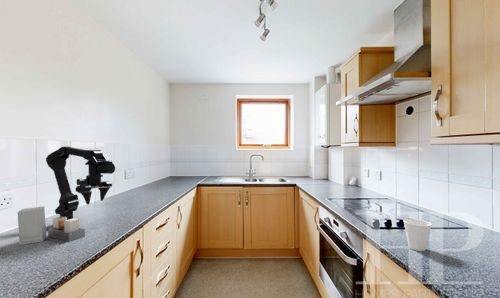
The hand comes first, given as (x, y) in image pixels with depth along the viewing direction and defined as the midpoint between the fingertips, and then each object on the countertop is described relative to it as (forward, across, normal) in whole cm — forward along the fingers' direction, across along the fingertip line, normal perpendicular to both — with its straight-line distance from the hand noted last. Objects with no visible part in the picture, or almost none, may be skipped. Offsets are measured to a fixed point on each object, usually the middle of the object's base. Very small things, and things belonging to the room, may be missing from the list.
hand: (95, 202), depth 133 cm
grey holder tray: (+12, +16, -1) cm, 21 cm away
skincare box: (+13, +24, -10) cm, 29 cm away
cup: (+13, 0, +156) cm, 156 cm away
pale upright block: (+11, +17, +3) cm, 21 cm away
